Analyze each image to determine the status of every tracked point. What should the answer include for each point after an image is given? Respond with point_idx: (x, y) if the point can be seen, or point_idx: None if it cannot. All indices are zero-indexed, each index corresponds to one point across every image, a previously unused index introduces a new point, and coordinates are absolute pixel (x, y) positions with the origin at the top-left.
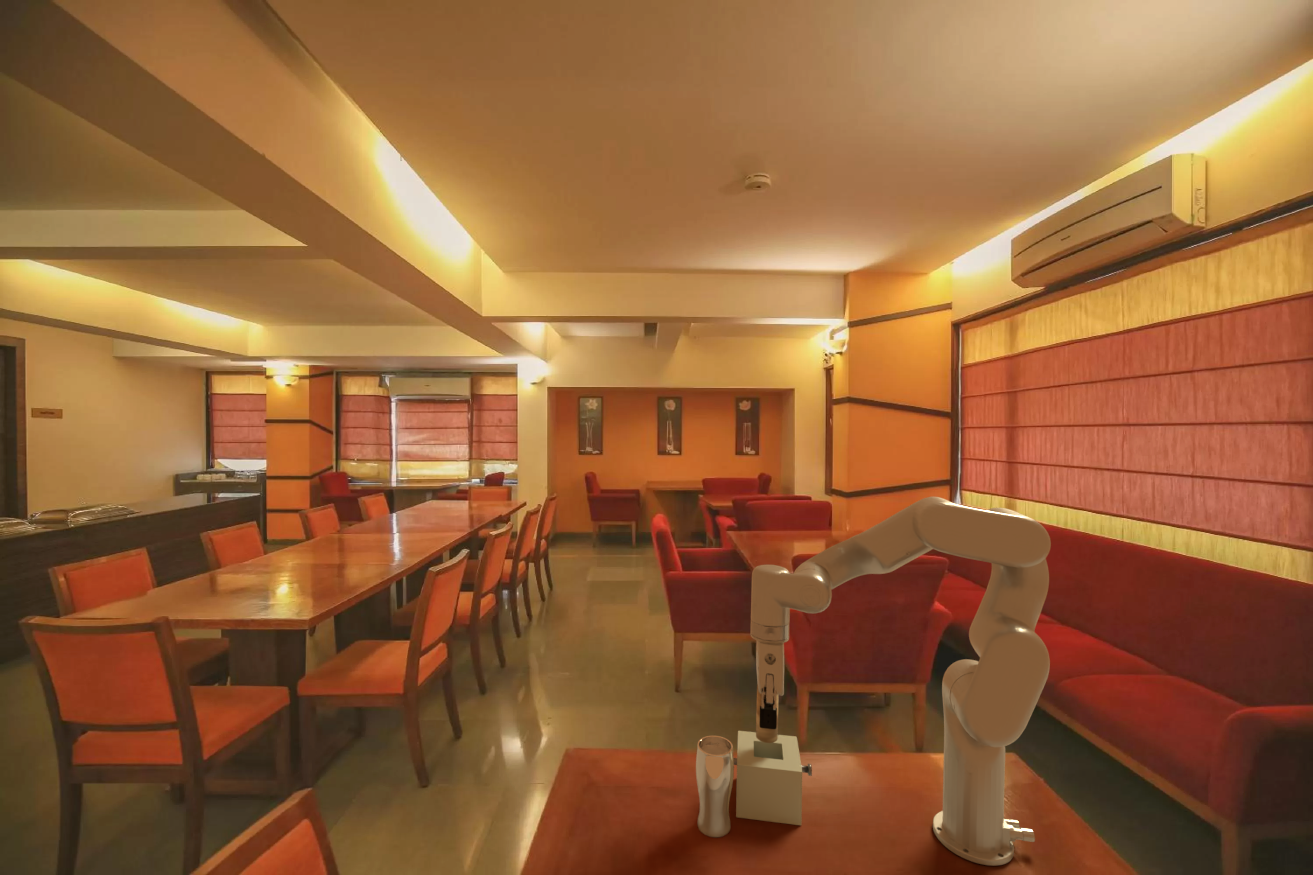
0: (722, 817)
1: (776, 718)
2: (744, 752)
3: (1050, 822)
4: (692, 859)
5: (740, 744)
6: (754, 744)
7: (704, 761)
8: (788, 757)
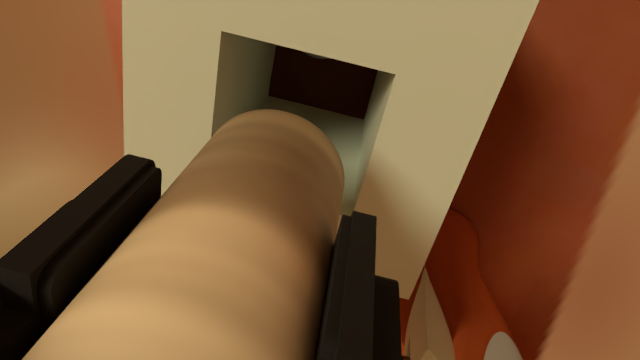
0: (477, 264)
1: (372, 274)
2: None
3: None
4: (538, 310)
5: None
6: None
7: None
8: (374, 35)
